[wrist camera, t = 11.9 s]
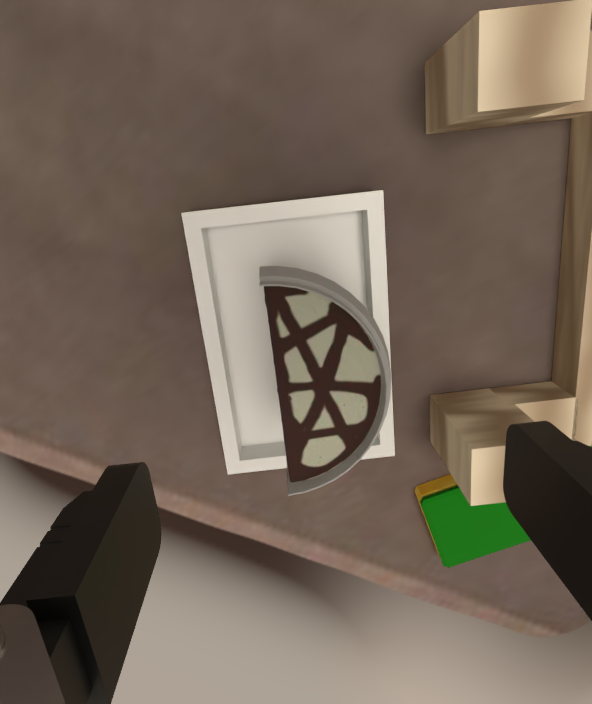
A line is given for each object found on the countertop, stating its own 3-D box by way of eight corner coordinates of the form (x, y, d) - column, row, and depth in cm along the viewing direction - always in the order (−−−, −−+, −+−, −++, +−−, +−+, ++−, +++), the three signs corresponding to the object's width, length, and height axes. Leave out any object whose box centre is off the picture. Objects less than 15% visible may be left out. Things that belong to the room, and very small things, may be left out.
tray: (231, 452, 36) (227, 474, 33) (190, 211, 30) (181, 212, 27) (385, 435, 36) (394, 455, 33) (373, 190, 30) (383, 190, 27)
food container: (369, 409, 34) (404, 491, 24) (286, 419, 34) (289, 504, 24) (358, 238, 30) (395, 256, 21) (264, 249, 30) (257, 272, 21)
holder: (430, 441, 36) (470, 506, 28) (424, 62, 28) (479, 10, 20) (566, 426, 36) (643, 486, 28) (601, 42, 28) (722, -17, 20)
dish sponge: (592, 495, 39) (612, 514, 36) (435, 548, 40) (445, 570, 38) (577, 425, 37) (597, 440, 34) (411, 484, 38) (420, 502, 36)
